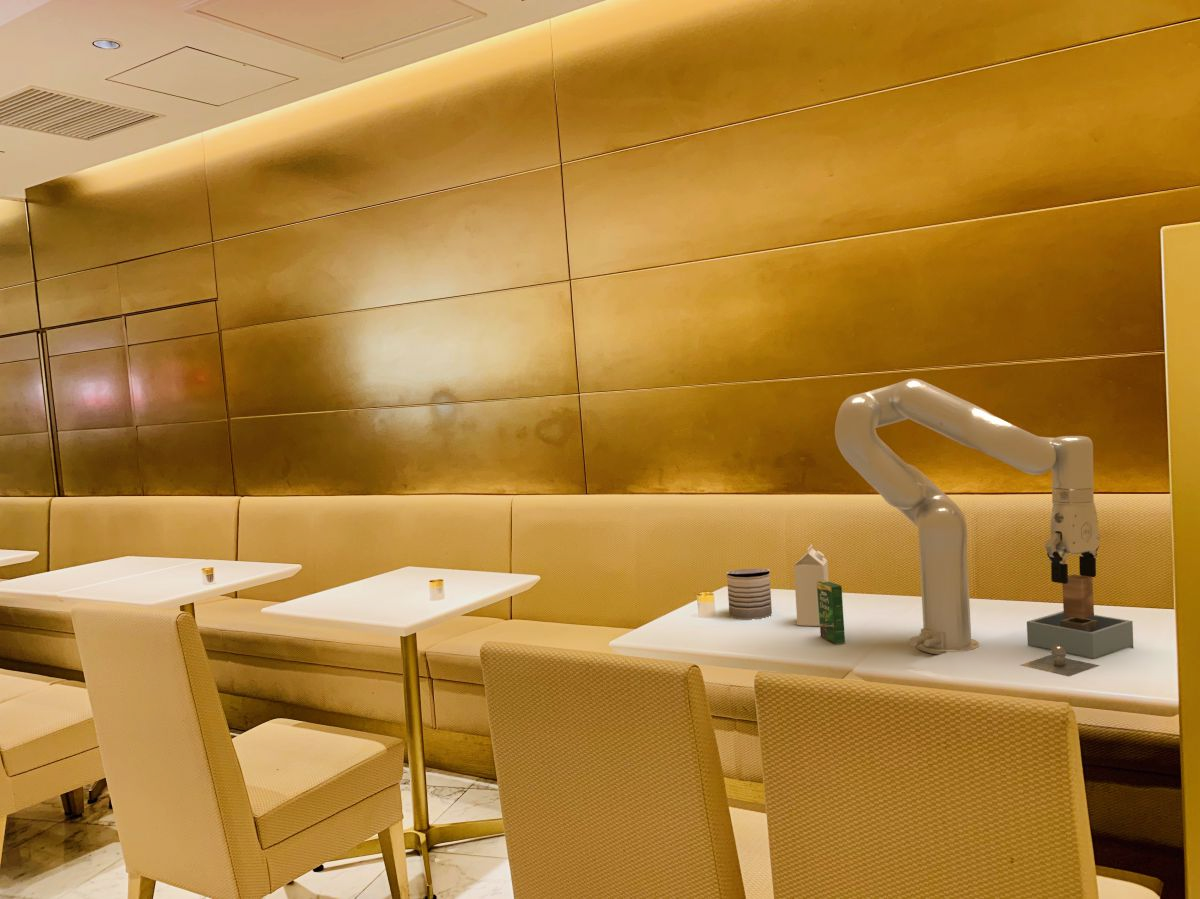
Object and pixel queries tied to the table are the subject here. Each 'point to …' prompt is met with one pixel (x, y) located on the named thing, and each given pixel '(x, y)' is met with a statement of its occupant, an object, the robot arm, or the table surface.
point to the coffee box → (831, 611)
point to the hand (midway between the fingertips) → (1073, 579)
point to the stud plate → (1060, 670)
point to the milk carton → (809, 586)
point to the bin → (1081, 635)
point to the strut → (1079, 604)
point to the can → (749, 594)
